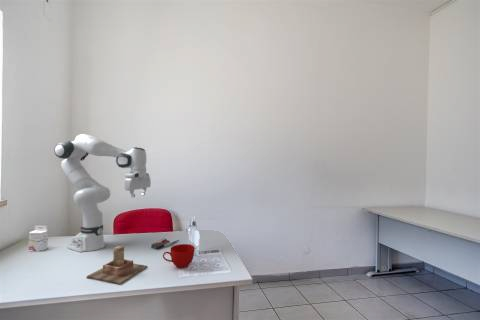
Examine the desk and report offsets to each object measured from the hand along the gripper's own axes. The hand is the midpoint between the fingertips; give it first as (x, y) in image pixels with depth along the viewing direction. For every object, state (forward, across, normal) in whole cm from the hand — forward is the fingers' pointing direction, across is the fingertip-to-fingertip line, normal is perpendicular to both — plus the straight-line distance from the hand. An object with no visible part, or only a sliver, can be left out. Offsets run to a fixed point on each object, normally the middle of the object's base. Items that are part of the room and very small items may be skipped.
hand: (138, 196), depth 162 cm
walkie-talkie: (+36, -18, +8) cm, 41 cm away
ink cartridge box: (+35, +17, -60) cm, 72 cm away
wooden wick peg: (+34, +26, +9) cm, 44 cm away
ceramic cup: (+35, +9, +34) cm, 50 cm away
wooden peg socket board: (+35, +26, +9) cm, 45 cm away
